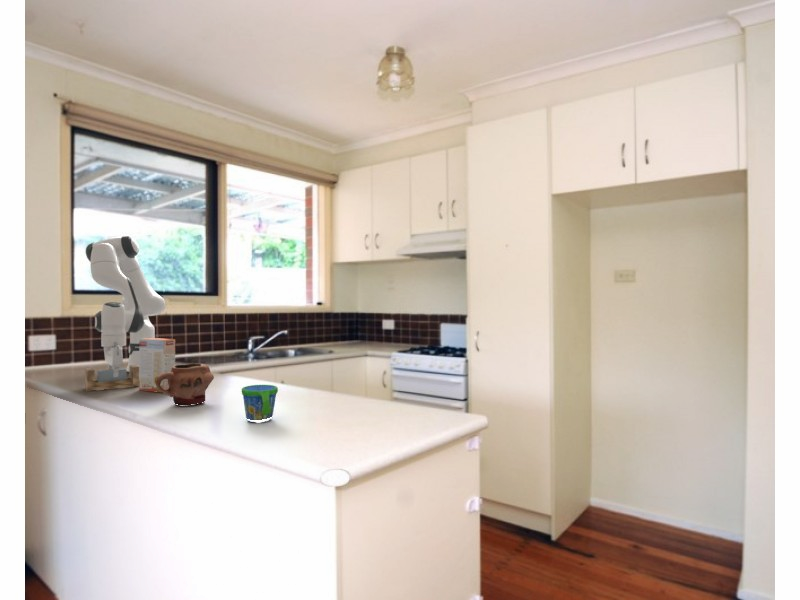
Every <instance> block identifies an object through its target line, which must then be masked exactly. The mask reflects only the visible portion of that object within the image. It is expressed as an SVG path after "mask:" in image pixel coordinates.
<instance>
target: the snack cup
mask: <svg viewBox="0 0 800 600" xmlns="http://www.w3.org/2000/svg"><path fill="white" fill-rule="evenodd" d="M278 391H279V388H278V386H276V385H273V384H253V385H252V384H251V385H247V386H243V387H242V388H241V394H242V396H243V397H242V398H243V404H244V412H245V419H246V418H247V419H250V420H262V419H267V418H270V417H272V416H274V410H275V409H274V408H275V405H276V404H275V403H276V397H277V394H278ZM272 418H273V417H272ZM247 419H246V420H247Z"/></svg>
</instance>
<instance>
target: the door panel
mask: <svg viewBox="0 0 800 600" xmlns="http://www.w3.org/2000/svg"><path fill="white" fill-rule="evenodd" d="M126 378H127V368H119V372H118V377H113V370H109V369H102V370H97V380H98V382H105V381H117V380H126Z"/></svg>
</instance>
